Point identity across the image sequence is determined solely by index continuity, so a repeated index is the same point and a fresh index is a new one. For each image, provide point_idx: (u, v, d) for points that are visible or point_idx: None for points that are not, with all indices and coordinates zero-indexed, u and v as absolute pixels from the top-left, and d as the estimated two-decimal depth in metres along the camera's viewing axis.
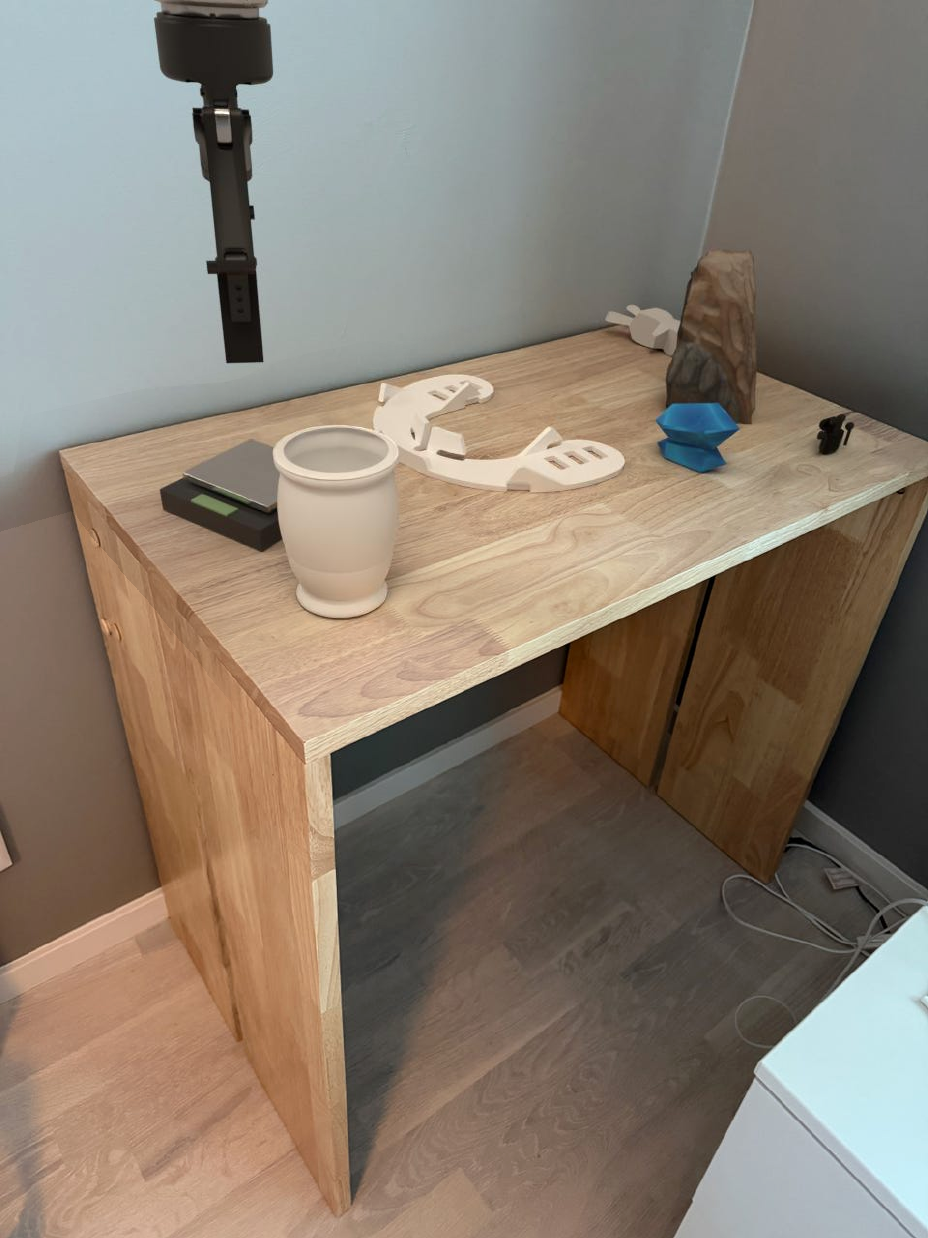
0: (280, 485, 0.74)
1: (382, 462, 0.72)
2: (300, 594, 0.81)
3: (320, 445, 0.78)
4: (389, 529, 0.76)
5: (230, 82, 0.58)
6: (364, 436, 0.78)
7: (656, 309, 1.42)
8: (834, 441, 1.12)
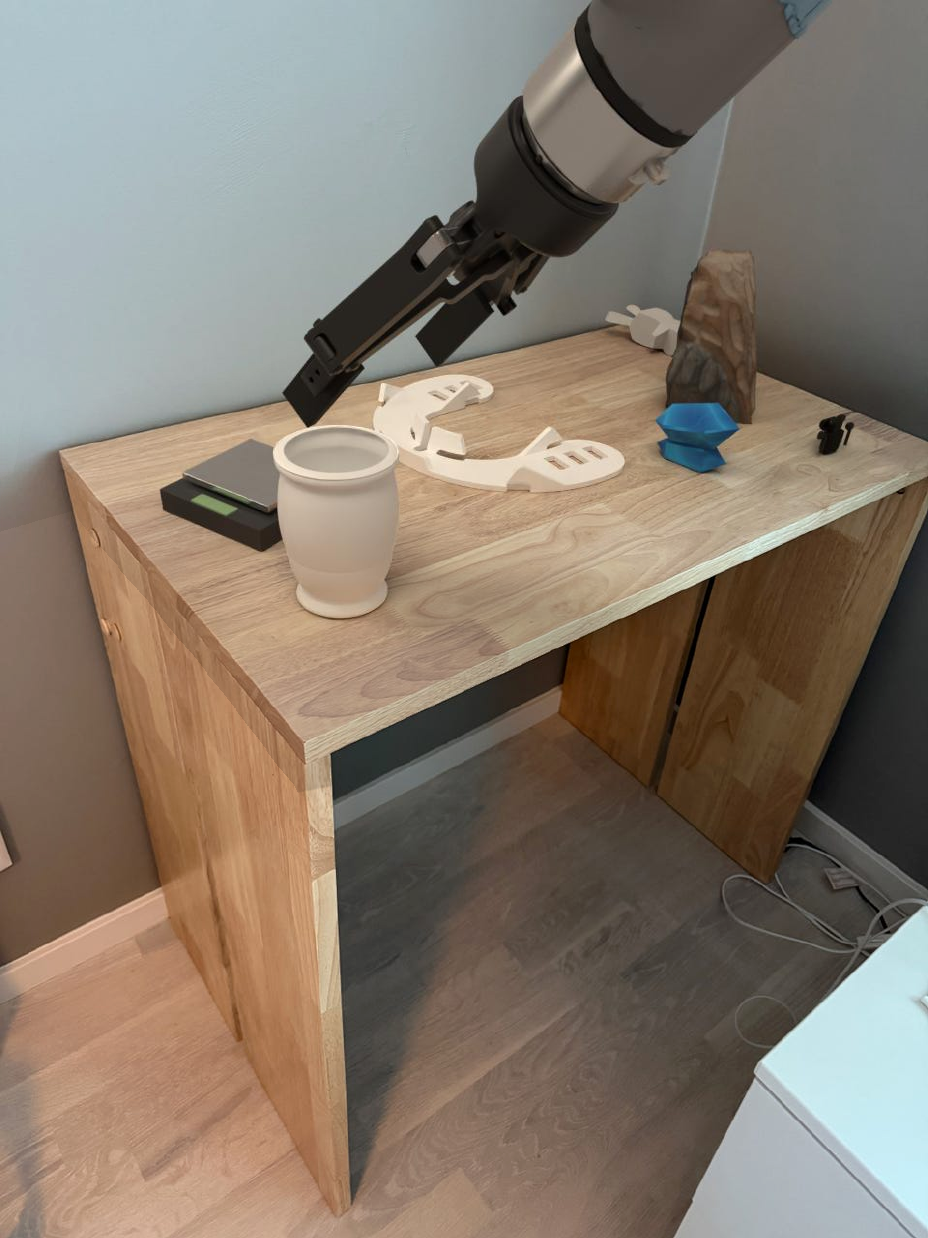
0: (280, 485, 0.74)
1: (382, 462, 0.72)
2: (300, 594, 0.81)
3: (320, 445, 0.78)
4: (389, 529, 0.76)
5: (498, 223, 0.45)
6: (364, 436, 0.78)
7: (656, 309, 1.42)
8: (834, 441, 1.12)
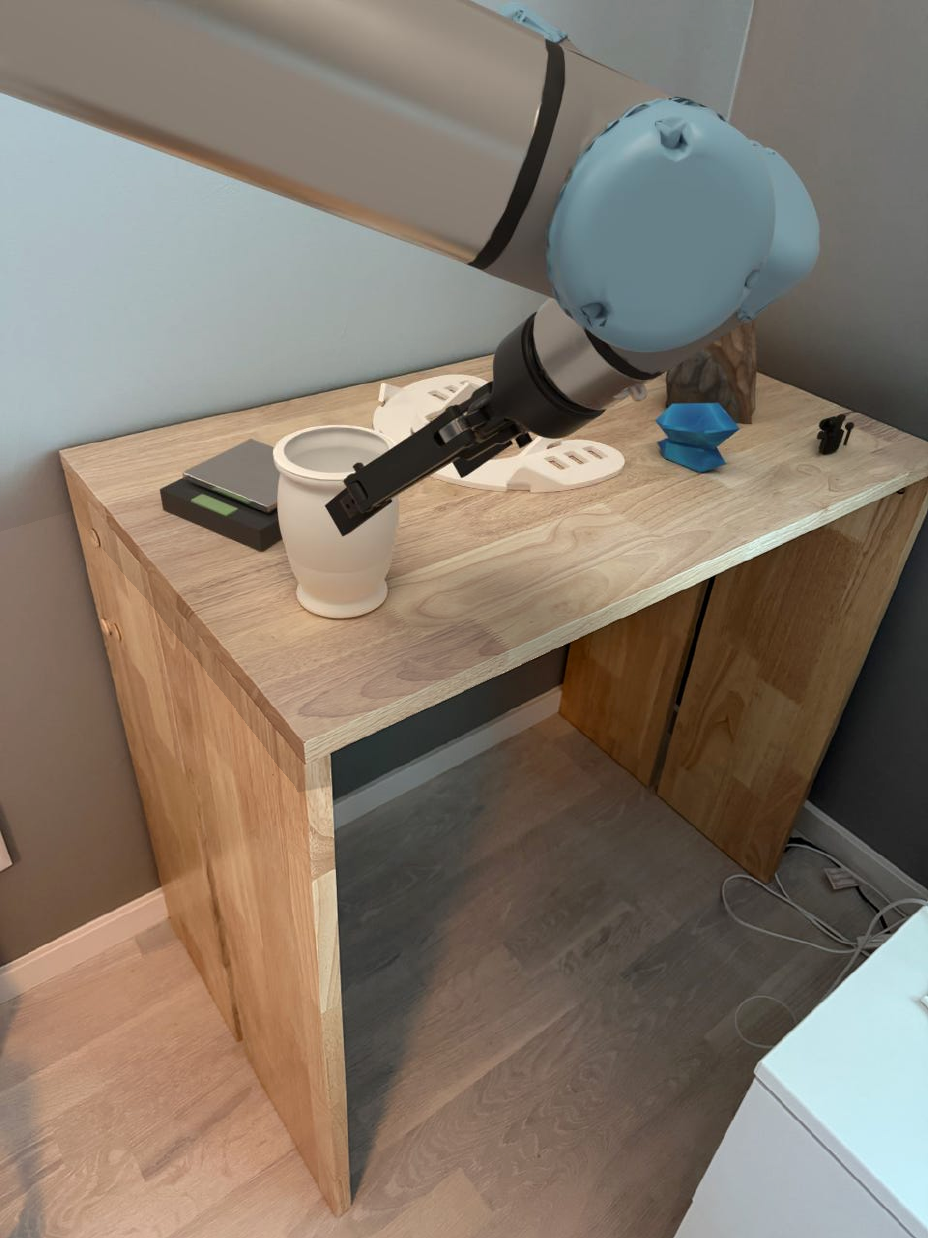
0: (280, 485, 0.74)
1: None
2: (300, 594, 0.81)
3: (320, 445, 0.78)
4: (389, 529, 0.76)
5: (507, 412, 0.55)
6: (364, 436, 0.78)
7: None
8: (834, 441, 1.12)
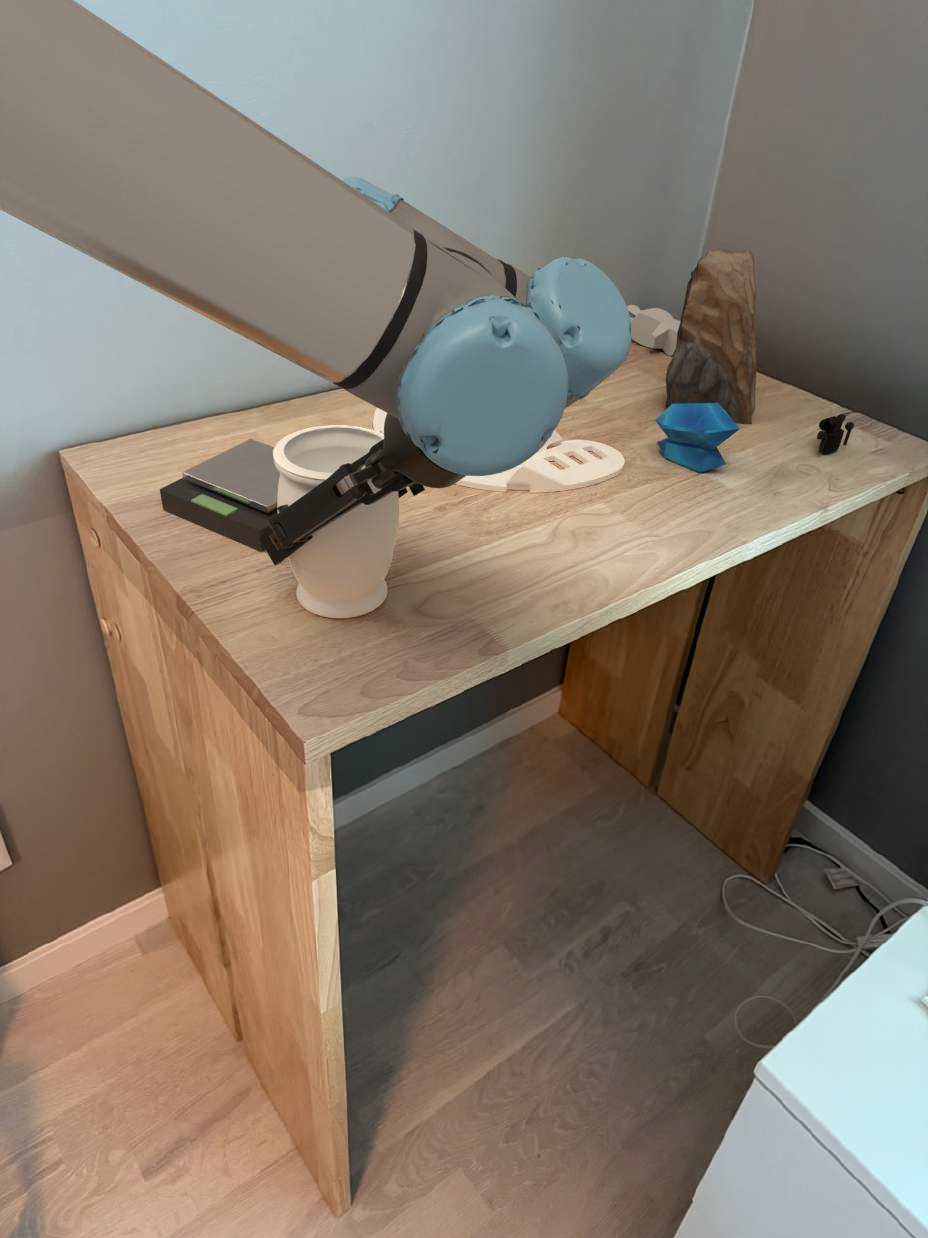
0: (280, 485, 0.74)
1: None
2: (300, 595, 0.81)
3: (320, 445, 0.78)
4: (389, 529, 0.76)
5: (396, 467, 0.64)
6: (364, 436, 0.78)
7: (656, 309, 1.42)
8: (834, 441, 1.12)
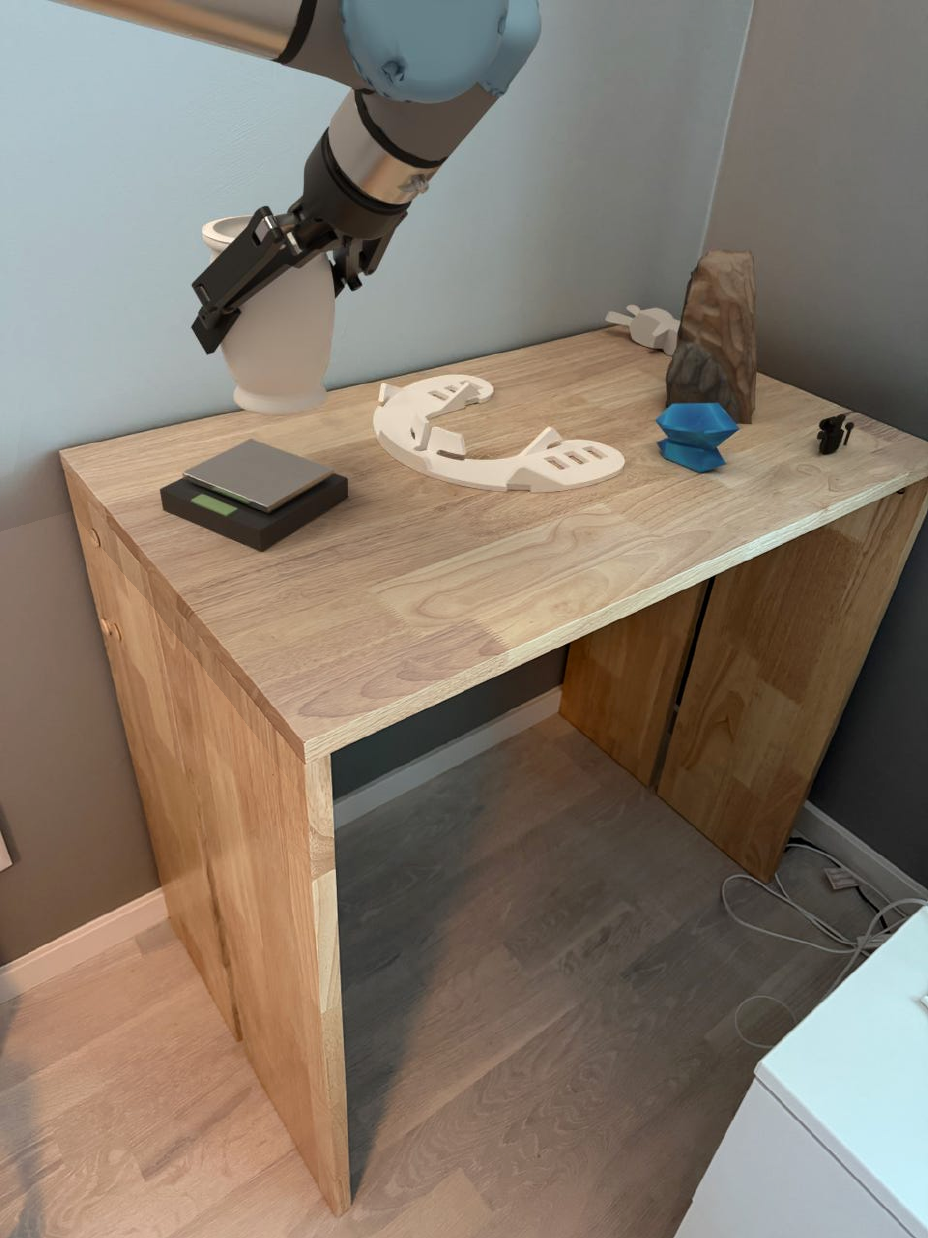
0: None
1: None
2: (236, 394, 0.79)
3: None
4: (322, 315, 0.74)
5: (316, 210, 0.63)
6: None
7: (656, 309, 1.42)
8: (834, 441, 1.12)
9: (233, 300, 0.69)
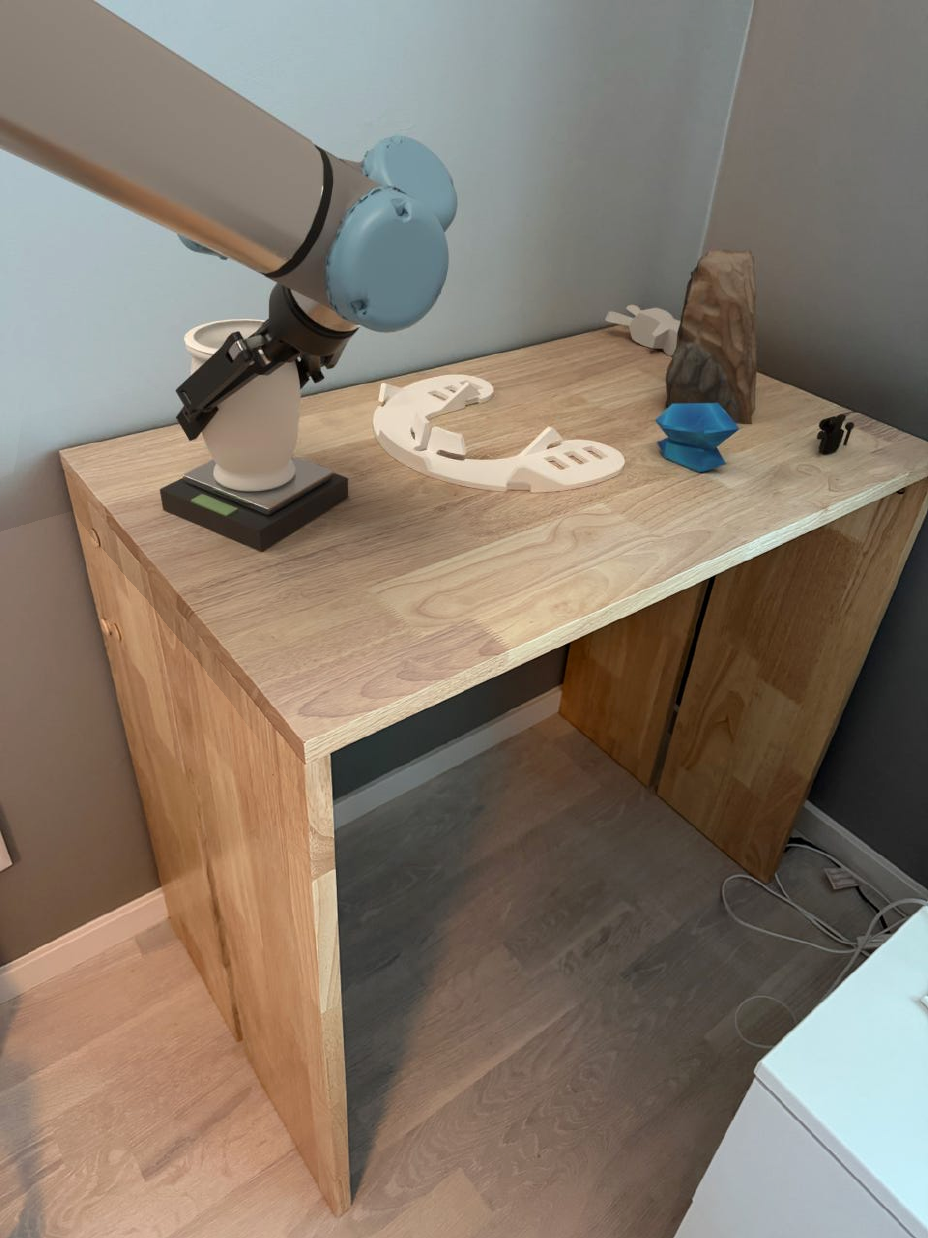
0: (191, 366, 0.85)
1: None
2: (216, 472, 0.91)
3: None
4: (289, 407, 0.86)
5: (279, 335, 0.75)
6: None
7: (656, 309, 1.42)
8: (834, 441, 1.12)
9: (211, 402, 0.81)
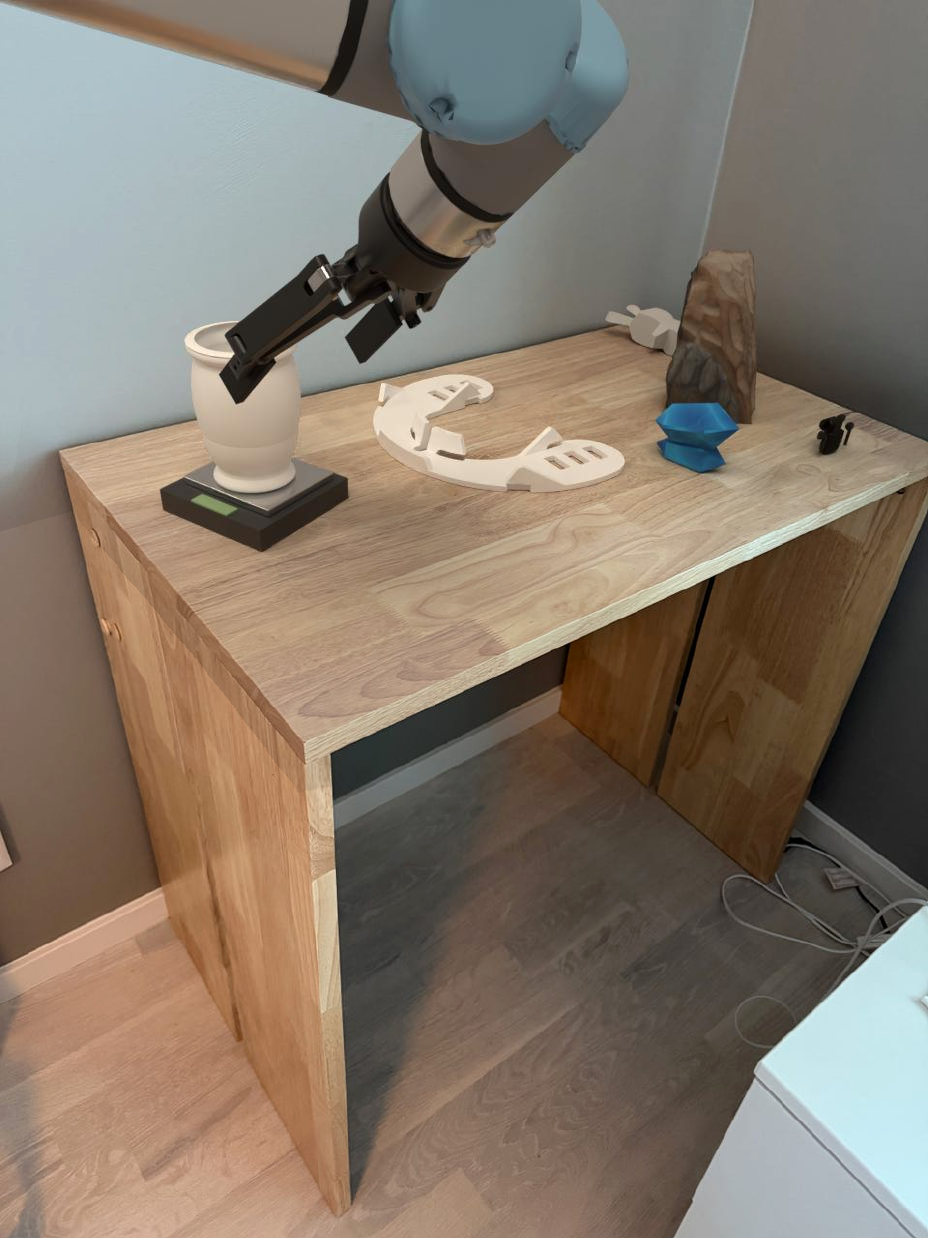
0: (192, 368, 0.85)
1: None
2: (216, 473, 0.91)
3: None
4: (289, 409, 0.87)
5: (372, 263, 0.59)
6: None
7: (656, 309, 1.42)
8: (834, 441, 1.12)
9: (271, 350, 0.64)
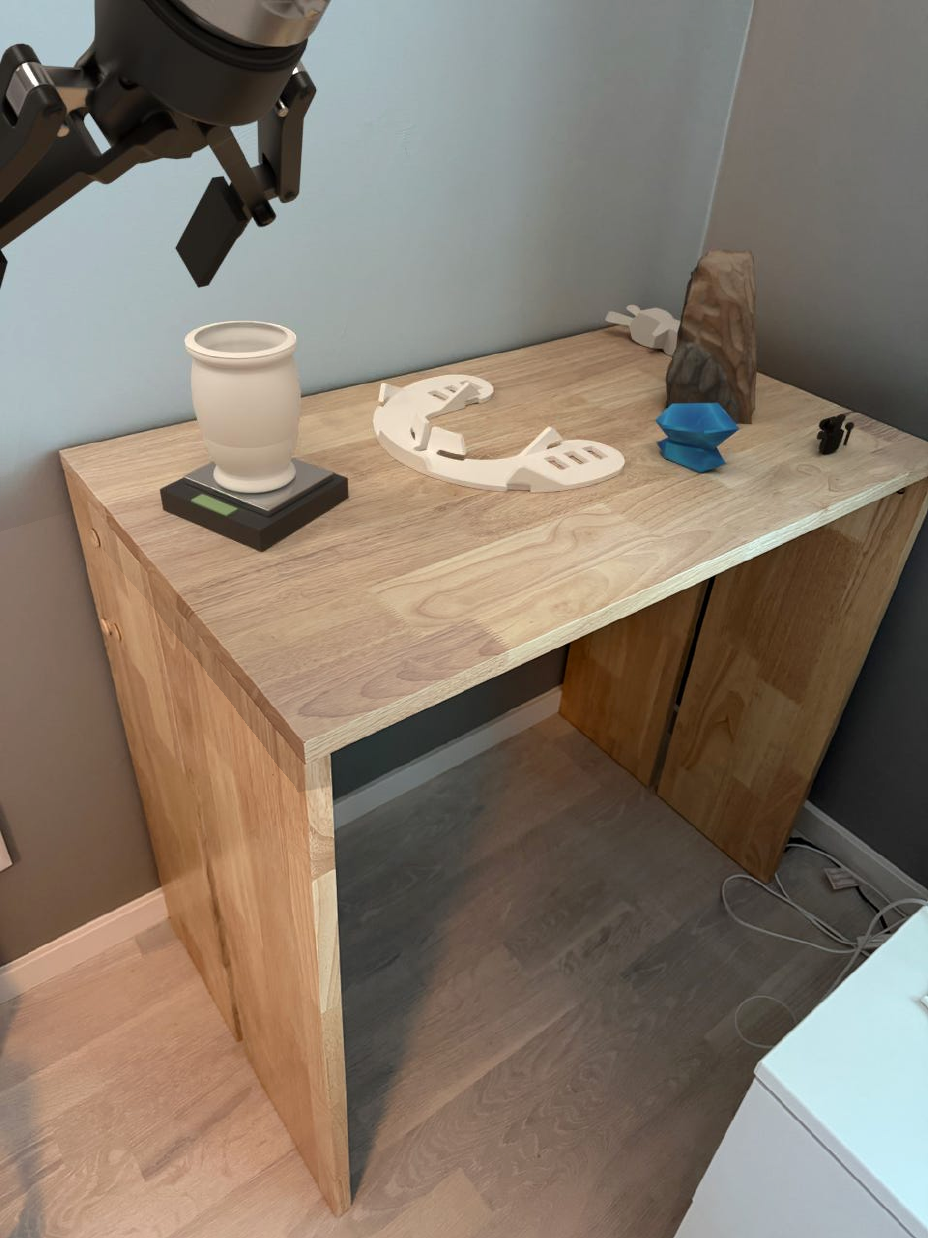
0: (192, 368, 0.85)
1: (279, 346, 0.83)
2: (216, 473, 0.91)
3: (231, 339, 0.89)
4: (289, 409, 0.87)
5: (118, 64, 0.33)
6: (270, 330, 0.89)
7: (656, 309, 1.42)
8: (834, 441, 1.12)
9: None
